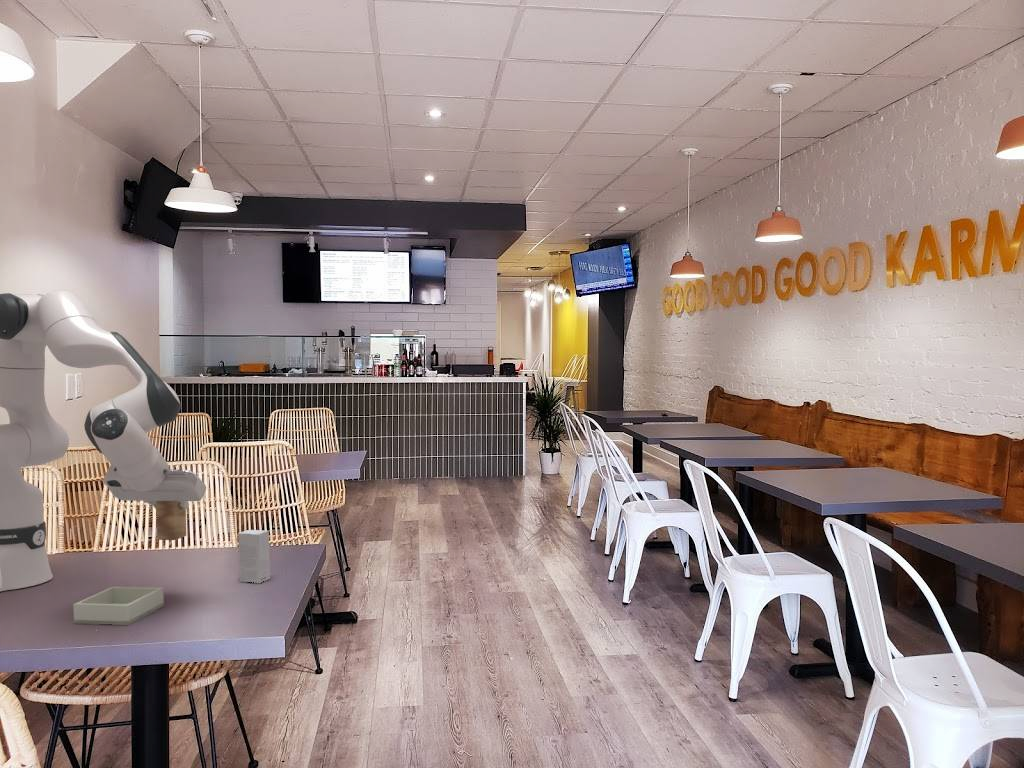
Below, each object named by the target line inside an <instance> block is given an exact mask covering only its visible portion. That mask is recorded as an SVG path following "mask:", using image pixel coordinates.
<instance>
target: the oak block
mask: <svg viewBox="0 0 1024 768" xmlns="http://www.w3.org/2000/svg"><path fill="white" fill-rule="evenodd" d="M178 503H179V502H178V501H156V509H155V511H156V539H157V540H158V541H176V540H179V539H182V538H185V537H187V513H186V512H187V509H186V510H182V509H179V508H178V506H177V505H178Z"/></svg>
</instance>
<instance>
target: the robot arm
mask: <svg viewBox="0 0 1024 768" xmlns="http://www.w3.org/2000/svg"><path fill="white" fill-rule="evenodd" d="M46 347H48V349H49V351H50V353H51V354H52V355H53V357H54V358H55V359H56V361H58V362H59V363H61V364H62V365H65V366H67V367H70V368H75V369H76V368H77V369H89V368H90V369H92V368H96V367H102V366H123V367H125V368H126V369H127V370H128V371H129V373H130V374H131V375H132V376H133V377H134V379H135V380H136V381H137V382H138V385H136V387H134V388H132V389H130V390H128V391H126V392H124V393H122V394H119V395H117V396H115V397H114V398H113V397H112V398H110V399H108V400H106V401H104V402H102V403H100V404H98V405H95V406H94V407H93V408H91V409H89V411H88V413H87V415H86V416H85V421H84V432H85V434H86V435H87V438H88V439H89V441H90V443H91V444H92V446H94V448H95V449H96V450H97V451H98V452H99V453H100V454H102V455H103V456H104V458H105V459H106V460H107V461H108V463H110V466H109V467H108V469H107V470H106V473H105V475H104V477H103V479H102V483H103V484H104V485H105V486H106V487H107V488H108V490H109V492H110V493H111V494H112V495H113V497H115V499H118V500H120V501H129V502H131V501H136V502H139V501H140V502H141V501H143V502H144V503H146V504H149V506H152V507H153V508H154V509H155V510H156V501H178V502H179V503H178V505H177V506H178V508H179V509H182V510H186V511H187V509H188V507H189V504H190V503H189V502H201V500H202V499H203V497H205V493H206V491H207V485H206V484H205V482H203V481H202V479H201V478H200V477H199V476H198V475H197V474H196V473H194V472H193V471H191V470H189V469H181V468H180V469H172V468H171V469H170V466H169V463H168V462H167V460H166V459H165V457H164V456H163V455H162V453H161V452H160V450H159V449H158V448H157V447H156V446H154V445H153V444H152V442H151V441H152V440H151V439H150V436H149V435H148V434H147V433H150V431H152V430H155V429H157V428H158V427H159V428H161V427H163V426H165V425H168V424H170V423H173V422H174V421H176V419H177V418H178V415H179V413H180V411H181V407H182V405H181V402H180V401H181V400H180V398H179V396H178V394H177V393H176V391H175V390H174V389H173V388H172V387H171V386H170V385H169V384H168V383H167V382H166V381H164V380H163V379H162V378H161V377H160V376H159V375H158V374H157V373H156V371H154V369H153V368H152V367H151V366H150V364H149V363H148V362H147V361H146V359H144V358H143V356H141V354H140V353H139V352H138V351H137V349H135V348H134V346H133V345H132V344H131V343H130V342H129V341H128V340H127V339H126V338H125V337H124V336H123V335H122V334H121V333H119V332H117V331H108V330H105V329H103V327H100V325H99V324H98V322H97V321H96V319H95V317H94V315H93V314H92V312H91V311H90V309H89V308H88V307H87V305H86V304H85V303H84V302H83V301H82V300H81V299H80V297H78V295H77V294H75V293H73V292H71V291H67V290H64V289H63V290H62V289H61V290H60V289H59V290H58V289H57V290H53V291H50V292H47V293H45V294H40V293H39V294H29V293H28V294H24V293H23V294H22V293H21V294H16V293H15V294H14V293H10V292H9V293H7V292H5V293H0V407H1V408H3V409H5V410H6V412H7V414H8V416H9V417H8V418H9V423H5V424H4V423H3V424H0V592H5V591H10V590H19V589H23V588H29V587H33V586H36V585H41V584H43V583H46V582H48V581H50V580H52V579H53V578H54V575H53V573H52V569H51V567H50V566H51V565H50V562H49V557H48V553H47V548H46V538H47V526H46V521H45V520H44V495H43V492H42V490H41V489H40V488H39V487H38V486H36V485H34V484H32V483H31V482H30V483H29V482H27V481H26V480H25V478H24V476H23V473H22V468H28V467H34V466H35V467H36V466H41V465H45V464H49V463H52V462H55V461H56V460H60V459H61V458H64V456H65V455H66V454H67V451H68V448H69V444H70V439H69V436H68V435H69V434H68V433H67V430H66V429H65V428H64V427H63V426H62V425H61V424H59V423H58V422H57V421H56V420H55V419H54V418H53V416H52V415H51V413H50V411H49V408H48V406H47V403H46V397H45V371H46V370H45V369H46V358H45V357H46V353H45V352H46Z"/></svg>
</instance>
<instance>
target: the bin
mask: <svg viewBox="0 0 1024 768" xmlns="http://www.w3.org/2000/svg"><path fill="white" fill-rule="evenodd" d="M164 598H165V597H164V587H143V586H140V587H139V586H135V587H134V586H110V587H109V588H107V589H104V590H102V591H100V592H97V593H94V594H93V595H91V596H88V597H86V598H84V599H82V600H80V601H78V602H75V603H73V624H76V625H99V624H112V625H111V626H130V625H132V624H134V623H136V622H138V621H140V620H141V619H143V618H145V617H147V616H148V615H150V614H152V613H154V612H156V611H157V610H159V609H161V608H163V607H165V605H164V604H165V603H164V602H165V601H164Z"/></svg>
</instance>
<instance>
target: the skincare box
mask: <svg viewBox="0 0 1024 768" xmlns="http://www.w3.org/2000/svg"><path fill="white" fill-rule="evenodd" d="M269 532H270V531H269V530H263V529H262V530H260V529H247V530H244V531H240V532H238V533H237V537H238V538H237V539H238V569H239V570H238V571H239V572H238V573H239V574H238V575H239V578H238V579H239V582H240V583H247V582H252V583H251V584H261V582H262V583H264V582H266V581H269V580H270V579H271V562H270V558H271V557H270V536H269V535H270V534H269ZM268 579H269V580H268ZM263 581H264V582H263ZM253 582H254V583H253Z"/></svg>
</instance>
